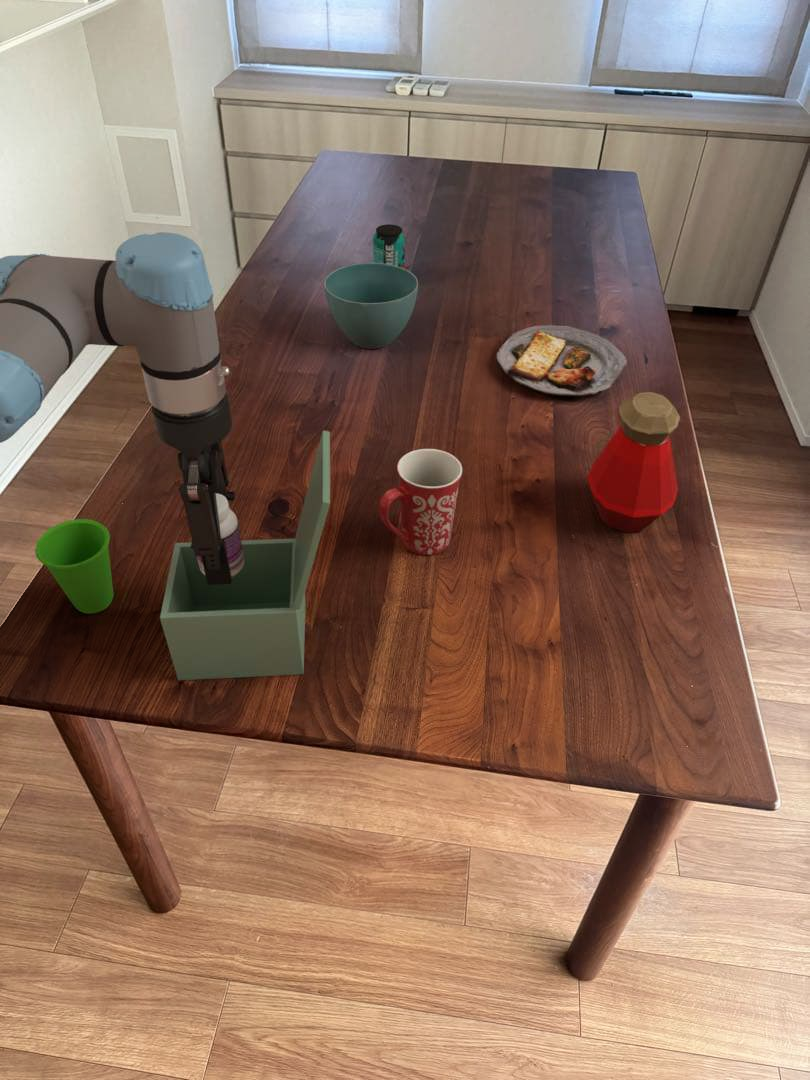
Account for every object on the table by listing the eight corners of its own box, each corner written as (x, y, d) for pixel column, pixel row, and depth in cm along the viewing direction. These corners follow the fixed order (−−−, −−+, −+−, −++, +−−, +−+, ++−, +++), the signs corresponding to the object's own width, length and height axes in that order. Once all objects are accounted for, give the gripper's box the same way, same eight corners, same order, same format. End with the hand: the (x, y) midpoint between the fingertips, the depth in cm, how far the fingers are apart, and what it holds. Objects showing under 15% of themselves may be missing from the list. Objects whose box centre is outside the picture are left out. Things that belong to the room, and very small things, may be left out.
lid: (322, 502, 81) (330, 503, 81) (322, 430, 90) (329, 431, 90) (292, 609, 91) (299, 610, 92) (295, 535, 101) (301, 535, 101)
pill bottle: (251, 553, 96) (242, 492, 89) (234, 584, 92) (223, 523, 86) (209, 546, 97) (197, 485, 90) (191, 576, 93) (177, 515, 86)
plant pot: (309, 336, 162) (305, 279, 154) (376, 309, 171) (376, 254, 163) (366, 372, 153) (365, 313, 144) (434, 341, 162) (437, 284, 153)
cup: (54, 629, 105) (28, 570, 97) (65, 580, 111) (41, 521, 104) (125, 621, 106) (104, 563, 98) (131, 573, 112) (112, 515, 105)
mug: (434, 511, 123) (437, 440, 114) (468, 545, 118) (475, 473, 108) (364, 540, 118) (362, 469, 109) (396, 577, 113) (397, 505, 103)
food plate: (593, 417, 143) (597, 400, 140) (477, 381, 151) (478, 364, 149) (636, 356, 159) (640, 340, 156) (529, 326, 167) (531, 310, 164)
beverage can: (409, 278, 182) (410, 226, 174) (396, 291, 178) (397, 238, 170) (381, 272, 184) (381, 220, 176) (368, 284, 180) (367, 232, 172)
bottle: (671, 553, 117) (709, 443, 103) (579, 540, 119) (604, 431, 105) (665, 487, 128) (699, 380, 115) (581, 476, 130) (604, 369, 116)
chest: (178, 680, 99) (159, 618, 91) (190, 605, 108) (174, 542, 100) (303, 674, 100) (296, 612, 92) (305, 600, 109) (299, 538, 101)
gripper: (218, 452, 72) (248, 620, 88) (235, 349, 85) (258, 511, 101) (134, 455, 72) (180, 623, 88) (164, 351, 85) (199, 513, 101)
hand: (222, 563), depth 94 cm, fingers closed on pill bottle, 5 cm apart
